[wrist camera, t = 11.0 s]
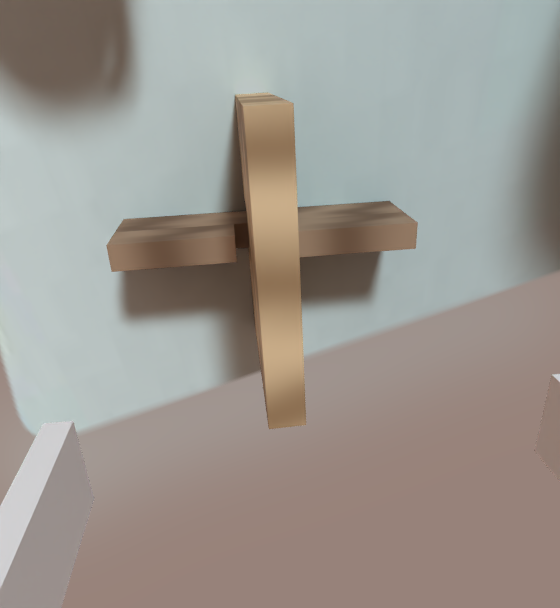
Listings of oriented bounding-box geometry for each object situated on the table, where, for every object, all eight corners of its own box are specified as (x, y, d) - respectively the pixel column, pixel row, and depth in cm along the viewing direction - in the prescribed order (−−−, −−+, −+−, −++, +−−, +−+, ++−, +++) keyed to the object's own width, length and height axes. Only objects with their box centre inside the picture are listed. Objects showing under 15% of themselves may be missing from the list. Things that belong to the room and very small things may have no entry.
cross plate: (281, 323, 37) (306, 424, 27) (255, 325, 37) (268, 428, 26) (267, 92, 31) (293, 103, 20) (235, 94, 30) (242, 106, 20)
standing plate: (389, 201, 34) (417, 222, 29) (388, 223, 35) (415, 248, 30) (123, 219, 33) (106, 245, 28) (127, 242, 34) (111, 271, 29)
